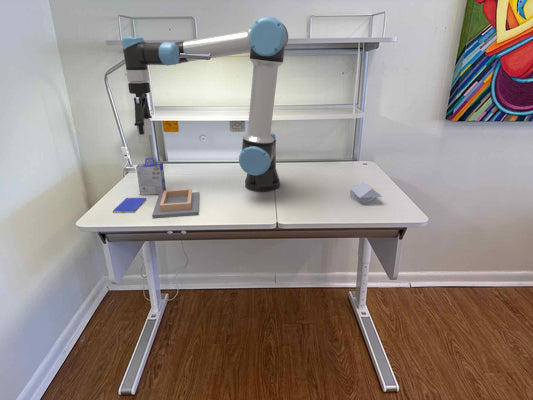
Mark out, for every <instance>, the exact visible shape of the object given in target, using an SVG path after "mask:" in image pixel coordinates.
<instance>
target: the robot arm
mask: <svg viewBox="0 0 533 400" xmlns="http://www.w3.org/2000/svg"><path fill="white" fill-rule="evenodd" d="M121 41H122V52H123V58H124V65H125V71H126V72H124V75H125V76H127V77H126V78H127V81H128V83H127V87H128V93H130V94H133V95H134V94H135V97H133V101H134V118H135V123H134V126H135V127H137V135H138V142H139V144H148V139H147V136H152V135H153V133H152V132H153V131H152V125H151V124H152V122H151V119H152V118H153V117H152V116H153V115H151V112H150V107H149V103H148V98H147V94H149V93H151V88H150V87H151V86H150V83H149V80H150V79H149V78H150V77H149V71H148V70H149V69H148V66H150V65H151V66H176V65H177V64H182V63H189V62H195V61H196V62H197V61H202V60H204V59H191V58H179V57H180V53H185V54H209V53H210V54H211V55H212V56H211V58H210V59H215V58H221V57H222V58H224V57H230V56H237V55H242V54H243V55H244V54H249V61H250V62H251V63H252V65H253V68H252V78H251V90H250V100H249V101H250V102H249V103H250V104H249V110H248V111H249V112H248V123H247V133H245V134H244V135H242V145H241V151H240V153H239V156H238V162H239V163H238V164H239V166H240V169H242V171H243V172H245V173H246V177H245V179H244V186H245V189H247V190H250V191H254V192H269V191H270V192H271V191H275V190H277V189H279V188H280V186H281V182H280V181H281V180H280V177H279V174H278V171H277V167H276V166H277V161H276V160H277V156H276V155H277V153H276V152H277V148H276V147H277V146H276V145H277V143H276V142H277V139H276V138H277V137H276V133H272V125H273V124H272V123H273V113H274V106H275V99H276V98H275V96H276V88H277V80H278V73H279V72H278V70H279V68H280V66H281V65H282V64H283V63H284V57H285V49H286V47H287V45H288V41H289V32H288V29H287V27H286V26H285V24H284V23H283V22H281V21H280V20H279V19H278V18H276V17H274V16H264V17H261V18H259V19H257V20H256V21H255V22H253V24H252V25H251V27H249V28H248V30H243V31H237V32H232V33H225V34H217V35H214V36H207V37H201V38H195V39H190V40H189V39H188V40H184V41H183V40H182V41H177V42H170V41H164V42H163V41H162V42H161V41H159V42H156V41H155V42H147V41H146V42H145V37H143V36H132V35H131V36H129V35H128V36H123V37H122V40H121Z"/></svg>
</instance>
